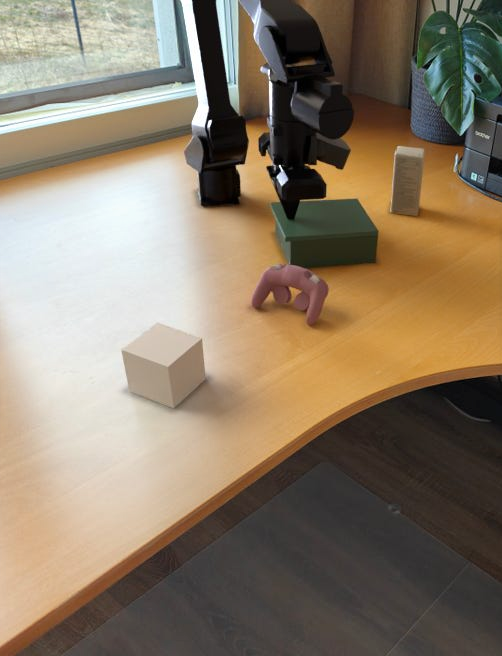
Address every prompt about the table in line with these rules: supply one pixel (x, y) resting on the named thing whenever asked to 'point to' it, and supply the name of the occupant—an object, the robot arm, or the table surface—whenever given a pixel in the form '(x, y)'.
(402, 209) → the box
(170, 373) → the beige cube block
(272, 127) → the robot arm
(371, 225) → the lid
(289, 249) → the toy chest
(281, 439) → the table surface
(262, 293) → the video game controller
